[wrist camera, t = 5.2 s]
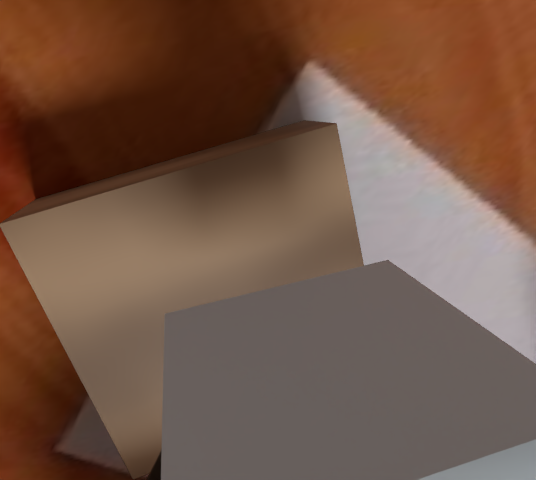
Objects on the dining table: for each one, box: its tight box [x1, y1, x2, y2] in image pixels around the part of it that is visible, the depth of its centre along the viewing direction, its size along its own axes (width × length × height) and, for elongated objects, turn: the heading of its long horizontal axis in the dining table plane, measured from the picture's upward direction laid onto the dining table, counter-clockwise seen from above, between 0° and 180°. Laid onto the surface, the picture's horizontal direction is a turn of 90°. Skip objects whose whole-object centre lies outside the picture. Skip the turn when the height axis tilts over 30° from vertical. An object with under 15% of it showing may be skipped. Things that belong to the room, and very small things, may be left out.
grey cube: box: [161, 260, 536, 480], centre depth 7 cm, size 5×5×5 cm
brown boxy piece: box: [0, 120, 364, 480], centre depth 17 cm, size 11×11×4 cm
